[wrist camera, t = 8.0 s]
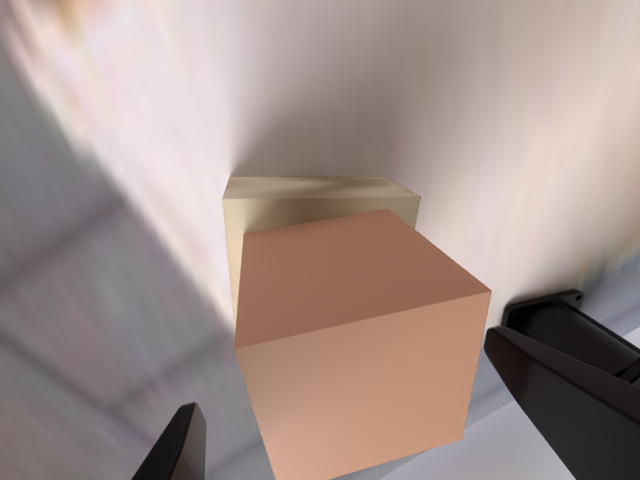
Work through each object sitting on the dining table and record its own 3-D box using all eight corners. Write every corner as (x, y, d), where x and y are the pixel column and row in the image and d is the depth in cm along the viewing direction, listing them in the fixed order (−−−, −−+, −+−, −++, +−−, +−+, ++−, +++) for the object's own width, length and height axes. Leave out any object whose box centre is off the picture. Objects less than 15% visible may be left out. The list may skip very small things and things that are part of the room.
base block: (383, 175, 16) (420, 196, 12) (366, 296, 19) (391, 341, 16) (230, 174, 14) (222, 199, 11) (241, 307, 18) (237, 359, 14)
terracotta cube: (387, 208, 12) (492, 290, 7) (387, 318, 15) (462, 439, 10) (243, 233, 11) (233, 349, 6) (270, 345, 14) (280, 493, 9)
